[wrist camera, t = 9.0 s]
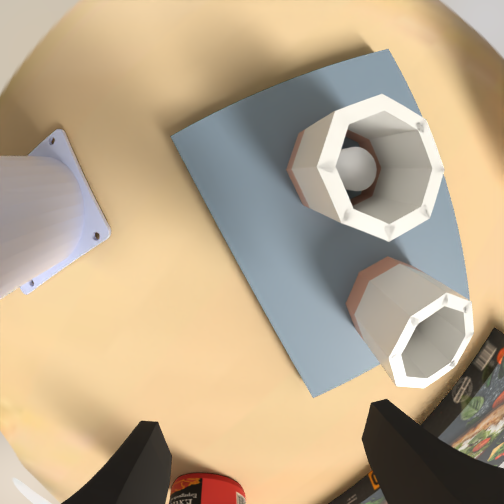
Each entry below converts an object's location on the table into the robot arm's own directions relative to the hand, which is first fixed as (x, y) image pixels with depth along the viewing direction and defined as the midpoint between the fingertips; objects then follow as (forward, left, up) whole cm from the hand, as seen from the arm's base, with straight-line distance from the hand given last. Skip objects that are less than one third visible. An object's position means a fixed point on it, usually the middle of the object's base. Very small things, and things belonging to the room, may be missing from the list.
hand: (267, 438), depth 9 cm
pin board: (+8, +2, -10) cm, 13 cm away
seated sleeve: (+8, -3, -9) cm, 12 cm away
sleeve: (+8, +6, -9) cm, 13 cm away
